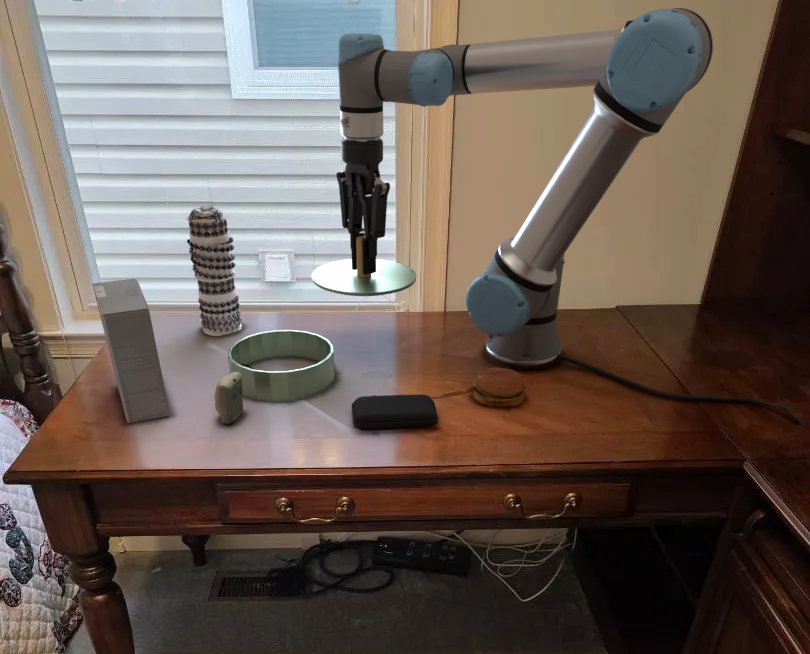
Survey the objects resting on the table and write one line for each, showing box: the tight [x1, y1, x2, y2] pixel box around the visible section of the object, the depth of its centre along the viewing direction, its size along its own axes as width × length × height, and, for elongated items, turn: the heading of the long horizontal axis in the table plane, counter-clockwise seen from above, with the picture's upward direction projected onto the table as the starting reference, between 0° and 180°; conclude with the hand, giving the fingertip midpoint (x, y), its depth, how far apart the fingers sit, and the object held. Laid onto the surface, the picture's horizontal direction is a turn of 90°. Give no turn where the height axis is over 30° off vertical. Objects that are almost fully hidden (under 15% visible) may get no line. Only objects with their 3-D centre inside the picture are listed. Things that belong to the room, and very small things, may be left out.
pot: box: [227, 329, 336, 403], centre depth 144 cm, size 20×20×6 cm
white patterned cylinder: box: [186, 205, 243, 337], centre depth 158 cm, size 9×9×25 cm
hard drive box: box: [92, 278, 171, 424], centre depth 131 cm, size 16×8×20 cm, turn 23°
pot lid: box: [311, 236, 417, 297], centre depth 145 cm, size 20×20×8 cm
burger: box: [472, 367, 526, 408], centre depth 138 cm, size 10×9×5 cm
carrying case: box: [351, 393, 439, 432], centre depth 132 cm, size 11×3×15 cm
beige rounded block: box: [214, 372, 244, 427], centre depth 129 cm, size 6×5×8 cm
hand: (363, 270), depth 147 cm, fingers closed on pot lid, 3 cm apart
